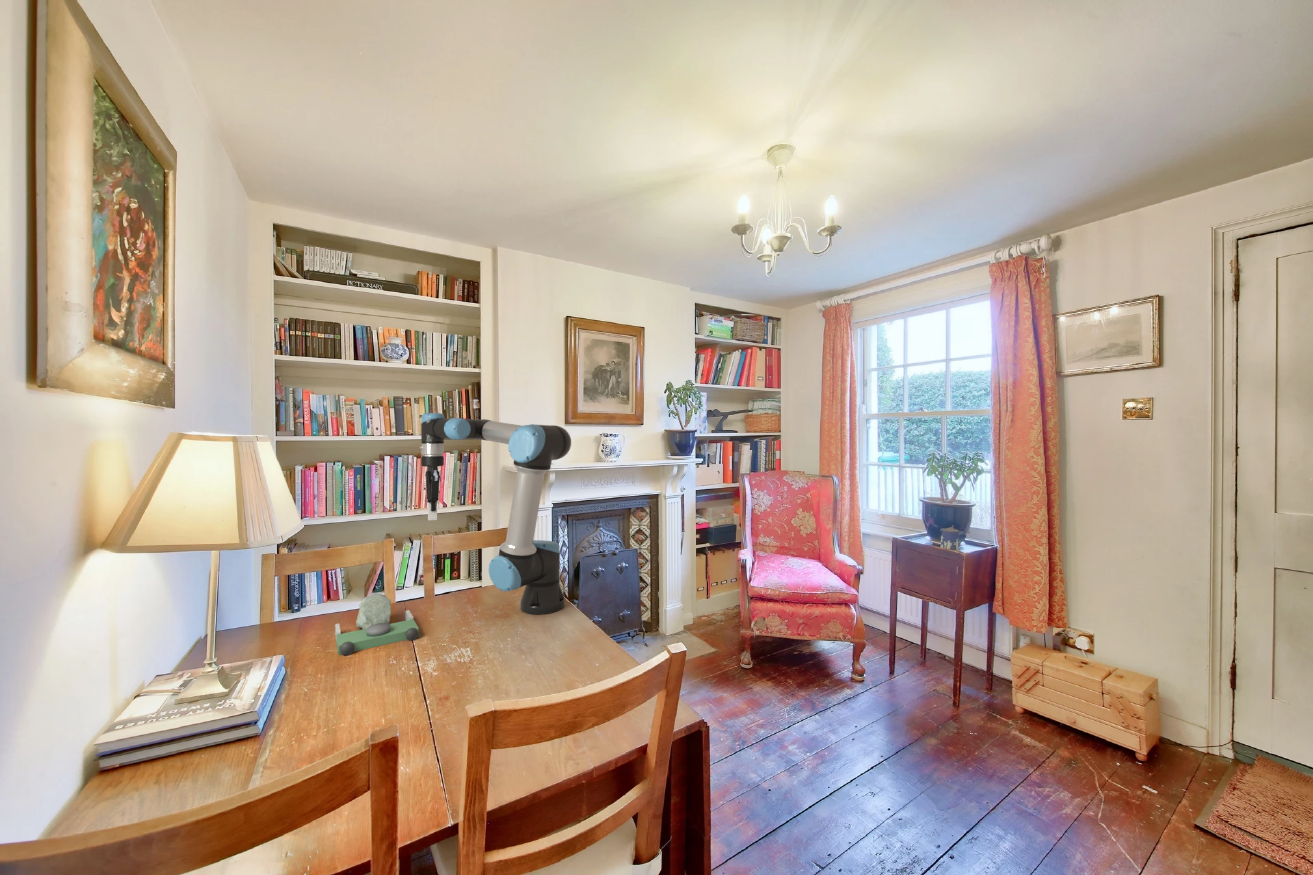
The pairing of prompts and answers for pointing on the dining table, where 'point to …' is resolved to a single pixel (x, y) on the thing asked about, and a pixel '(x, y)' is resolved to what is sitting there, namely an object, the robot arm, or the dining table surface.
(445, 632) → the dining table surface
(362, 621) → the decorative stone
